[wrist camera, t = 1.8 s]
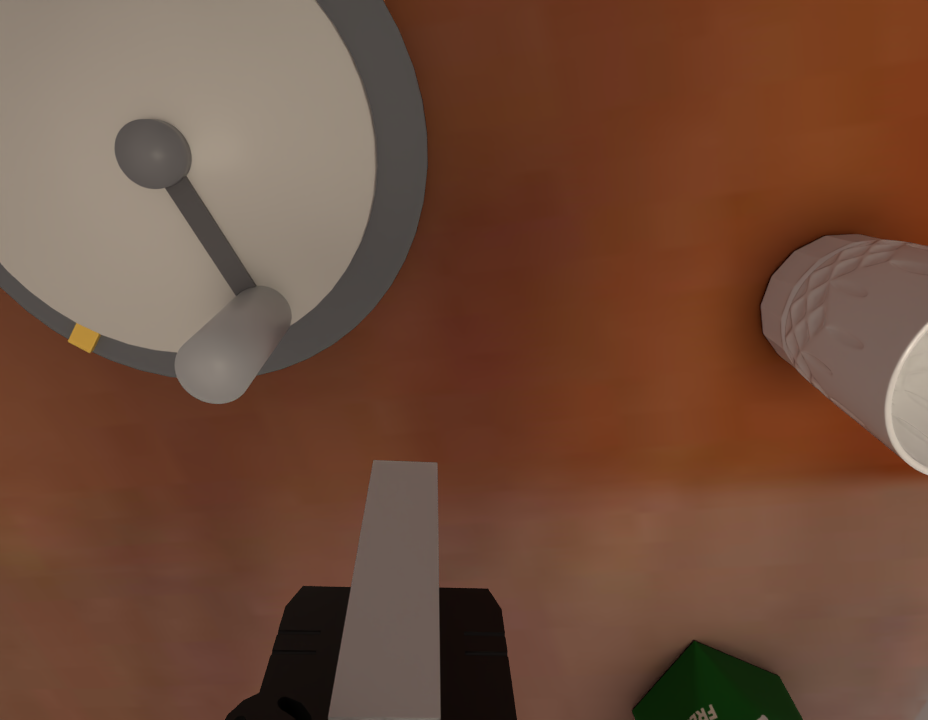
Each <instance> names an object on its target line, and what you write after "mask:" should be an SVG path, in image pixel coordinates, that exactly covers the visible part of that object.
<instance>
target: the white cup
mask: <svg viewBox="0 0 928 720" xmlns="http://www.w3.org/2000/svg"><path fill="white" fill-rule="evenodd" d="M761 317H762V328H763V334H764V336H765V337H766V338H767V340H768V341H769V342H770V344H771V345H772V347H773V348H774V349H775V351H776V352H777V354H778V355H779V356H780V357H782V358H783V359H784V360H785V361H787V362H788V363H789V364H791V365H792V366H793V367H794V368H796V370H797V371H798V372H799V373H800V374H801V375H802V376H803V377H804V378H805V379H806V380H807V381H808V382H810V383H811V384H812V385H813V386H814V387H816V388H817V389H818V390H820V391H821V392H822V393H823V394H824V395H825V396H826V397H827V398H828V399H829V400H830V401H832V402H833V403H834V404H835V405H836V406H837V407H839V408H840V409H841V410H842V411H844V412H845V413H846V414H847V415H849V416H850V417H851V418H852V419H854V420H855V421H856V422H857V423H858V424H860V425H861V426H862V427H863V428H865V429H866V430H867V431H868V432H870V433H871V434H872V435H873V436H874V437H876V438H877V439H878V440H879V441H881V442H882V443H883V444H884V445H885V446H887V447H888V448H889V449H890V450H892V451H893V452H894V453H895V454H896V455H898V456H899V457H900V458H901V459H903V460H904V461H905V462H906V463H907V464H909V465H910V466H911V467H913V468H914V469H916V470H918V471H920V472H922V473H924V474H926V475H928V246H925V245H920V244H915V243H911V242H903V241H895V240H883V239H879V238H874V237H870V236H865V235H860V234H846V235H828V236H823V237H821V238H819V239H817V240H815V241H813V242H811V243H809V244H807V245H805V246H803V247H801V248H800V249H798V250H796V251H794V252H793V253H792V254H791V255H790V256H789V258H788V259H787V260H786V261H785V262H784V263H783V264H782V265H781V266H780V267H779V269H778V270H777V271H776V272H775V273H774V274H773V275H772V276H771V279H770V282H769V284H768V287H767V290H766V292H765V295H764V298H763V300H762V303H761Z"/></svg>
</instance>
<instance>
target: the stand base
mask: <svg viewBox="0 0 928 720" xmlns="http://www.w3.org/2000/svg"><path fill="white" fill-rule="evenodd" d="M316 1H317V2H318V3H319V5H320V6H321V7H322V9H323V10H324V11H325V13H326V14H327V16H328V17H329V18H330V20H331V21H332V22H333V24H334V25H335V26H336V28H337V30H338V32H339V33H340V35H341V37H342V39H343V40H344V42H345V44H346V46H347V47H348V49H349V51H350V53H351V54H352V57H353V59H354V61H355V64H356V66H357V68H358V71H359V73H360V75H361V78H362V80H363V83H364V86H365V89H366V93H367V96H368V100H369V103H370V106H371V110H372V115H373V121H374V127H375V133H376V139H377V162H378V168H377V180H376V193H375V197H374V202H373V206H372V211H371V216H370V219H369V222H368V225H367V228H366V230H365V233H364V236H363V239H362V241H361V243H360V245H359V247H358V249H357V251H356V253H355V255H354V256H353V258H352V260H351V262H350V264H349V266H348V267H347V269H346V271H345V272H344V273H343V275H342V276H341V278H340V279H339V280H338V282H337V283H336V285H335V286H334V287H333V289H332V290H331V291H330V292H329V293H328V294H327V295H326V296H325V297H324V298H323V299H322V301H321V302H320V303H319V304H318V305H317V306H316V307H315V308H314V309H312V310H311V311H310V312H308V313H307V314H306V315H305V316H303V317H302V318H301V319H300V320H298V321H297V322H296V323H294V324H292V325H290V327H289V329H288V330H287V332H286V333H285V334H284V336H283V337H282V339H281V340H280V342H279V343H278V345H277V346H276V348H275V349H274V350H273V352H272V353H271V355H270V356H269V358H268V359H267V361H266V362H265V364H264V365H263V366H262V368H261V369H260V371H259V372H258V374H257V375H261V374H265V373H269V372H272V371H276V370H280V369H284V368H286V367H288V366H291V365H293V364H296V363H298V362H301V361H303V360H306V359H308V358H310V357H312V356H314V355H315V354H317V353H319V352H321V351H322V350H324V349H326V348H328V347H329V346H331V345H333V344H334V343H335V342H337V341H338V340H339V339H341V338H342V337H343V336H345V335H346V334H347V333H349V332H350V331H351V330H352V329H354V328H355V327H356V326H357V325H358V324H359V323H360V322H361V321H362V320H363V319H364V318H365V317H366V316H367V315H368V314H369V313H370V312H371V311H372V310H373V309H374V307H375V306H376V305H377V303H378V302H379V301H380V299H381V298H382V297H383V296H384V294H385V293H386V292H387V290H388V289H389V288H390V286H391V285H392V283H393V281H394V279H395V277H396V276H397V274H398V272H399V270H400V268H401V267H402V265H403V263H404V261H405V259H406V256H407V254H408V251H409V249H410V246H411V244H412V241H413V239H414V236H415V233H416V230H417V226H418V222H419V218H420V214H421V210H422V206H423V201H424V194H425V185H426V176H427V167H428V156H427V129H426V122H425V114H424V107H423V101H422V97H421V93H420V89H419V85H418V82H417V78H416V74H415V70H414V67H413V65H412V62H411V59H410V57H409V54H408V52H407V49H406V47H405V44H404V42H403V39H402V37H401V34H400V32H399V29H398V28H397V26H396V24H395V22H394V20H393V18H392V16H391V14H390V13H389V11H388V9H387V7H386V5H385V3H384V1H383V0H316ZM0 287H1V288H2V289H3V290H4V291H5V292H6V293H8V294H9V295H10V296H11V297H12V298H13V299H14V300H15V301H16V302H18V303H19V304H20V305H21V306H22V307H23V308H24V309H25V310H26V311H28V312H29V313H31V314H32V315H33V316H35V317H36V318H37V319H39V320H40V321H41V322H43V323H44V324H45V325H47V326H48V327H50V328H51V329H52V330H54V331H55V332H57V333H59V334H61V335H62V336H64V337H66V338H67V339H69V340H68V342H69V343H71V344H73V345H75V346H77V347H79V348H81V349H83V350H85V351H86V352H88V353H91V352H94V353H96V354H98V355H100V356H103V357H105V358H107V359H109V360H111V361H114V362H117V363H120V364H123V365H126V366H129V367H132V368H135V369H138V370H142V371H146V372H151V373H155V374H160V375H164V376H169V377H177V376H176V372H175V358H176V355H177V352H168V351H159V350H152V349H148V348H143V347H139V346H134V345H130V344H127V343H124V342H121V341H118V340H115V339H112V338H109V337H106V336H103V335H101V334H99V333H97V332H95V331H92V330H90V329H88V328H86V327H84V326H82V325H80V324H78V323H76V322H74V321H73V320H71V319H69V318H68V317H66V316H64V315H62V314H61V313H59V312H57V311H56V310H54V309H53V308H51V307H50V306H49V305H47V304H46V303H45V302H43V301H42V300H41V299H39V298H38V297H37V296H35V295H34V294H33V293H31V292H30V291H29V290H28V289H26V288H25V287H24V286H23V285H22V284H21V283H20V282H19V281H18V280H17V279H16V278H15V277H13V276H12V275H11V274H10V273H9V272H8V271H7V270H6V269H5V268H4V267H3V265H2V264H1V263H0ZM257 375H256V376H257Z"/></svg>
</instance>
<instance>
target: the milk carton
mask: <svg viewBox="0 0 928 720" xmlns="http://www.w3.org/2000/svg"><path fill="white" fill-rule="evenodd" d="M632 712H633V715H634V717H635V720H803V719H802V717H801V715H800V713H799V712H798V710H797V708H796V706H795V704H794V702H793V701H792V699H791V697H790V695H789V693H788V691H787V690H786V688H785V686H784V684H783V682H782V680H781V679H780V677H779V676H777V675H775V674H772V673H770V672H768V671H765V670H763V669H760V668H758V667H756V666H753V665H751V664H749V663H746V662H744V661H741V660H739V659H737V658H734V657H732V656H729V655H727V654H725V653H722V652H720V651H718V650H715V649H713V648H710V647H708V646H706V645H703V644H701V643H698V642H696V641H693V643H692V644H691V645H690V646H689V647H688V648H687V649H686V651H685V652H684V653H683V654H682V655H681V656H680V657H679V658H678V660H677V661H676V662H675V663H674V664H673V665H672V666H671V667H670V669H669V670H668V671H667V672H666V673H665V674H664V675H663V676H662V678H661V679H660V680H659V681H658V682H657V683H656V684H655V685H654V687H653V688H652V689H651V690H650V691H649V692H648V693H647V695H646V696H645V697H644V698H643V699H642V700H641V701H640V702H639V704H638V705H637V706H636V707H635V708H634V709H633V710H632Z"/></svg>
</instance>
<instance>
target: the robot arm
mask: <svg viewBox="0 0 928 720" xmlns="http://www.w3.org/2000/svg"><path fill="white" fill-rule="evenodd" d="M225 720H517V717H516V710H515V702H514V695H513V688H512V681H511V674H510V667H509V660H508V657H507V645H506V638H505V631H504V624H503V617H502V610H501V608H500V606H499V605H498V603H497V602H496V600H495V599H494V597H493V596H492V594H491V593H490V591H489V590H488V589H477V588H439V552H438V473H437V463H434V462H408V461H382V460H373V466H372V471H371V477H370V483H369V488H368V494H367V500H366V505H365V511H364V516H363V522H362V528H361V533H360V539H359V545H358V550H357V556H356V562H355V567H354V573H353V579H352V584H351V587H321V586H303V587H302V588H301V589H300V590H299V591H298V593H297V594H296V595H295V596H294V597H293V598H292V599H291V601H290V602H289V603H288V604H287V605H286V607H285V610H284V613H283V617H282V620H281V623H280V627H279V630H278V635H277V636H276V640H275V643H274V646H273V650H272V655H271V656H270V659H269V663H268V666H267V669H266V672H265V676H264V679H263V682H262V686H261V689H260V692H259V693H258V694H256V695H254V696H252V697H250V698H248V699H245V700H243V701H242V702H241V703H240V704H239V705H238V706H237V707H236V708H235V709H234V710H232V711H231V712H230V713H229V714H228V715H227V717H226V719H225Z"/></svg>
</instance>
